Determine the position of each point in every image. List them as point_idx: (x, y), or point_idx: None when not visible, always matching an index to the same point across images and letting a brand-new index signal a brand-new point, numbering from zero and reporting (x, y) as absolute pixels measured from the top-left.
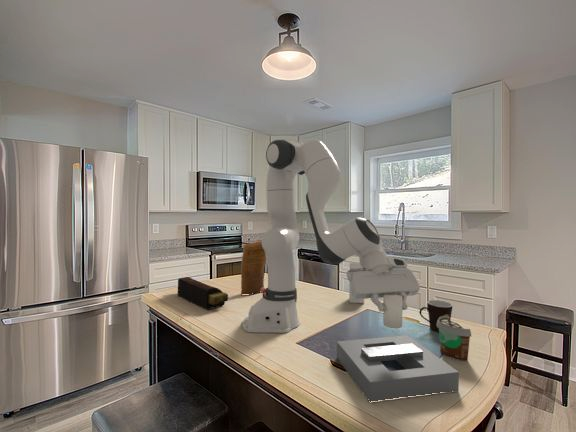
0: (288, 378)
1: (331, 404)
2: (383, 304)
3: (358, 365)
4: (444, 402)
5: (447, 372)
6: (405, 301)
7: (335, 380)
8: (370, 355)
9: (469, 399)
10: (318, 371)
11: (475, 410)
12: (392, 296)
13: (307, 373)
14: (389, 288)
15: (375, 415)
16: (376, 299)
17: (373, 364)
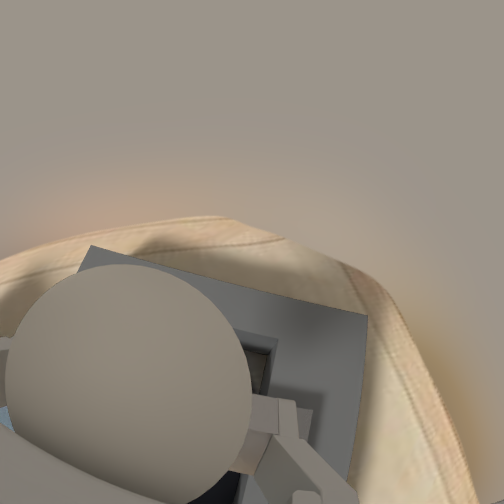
0: (464, 470)
1: (421, 360)
2: (261, 418)
3: (354, 405)
4: (174, 264)
5: (118, 257)
6: (8, 339)
7: (376, 445)
8: (303, 416)
9: (115, 246)
10: (396, 494)
11: (144, 223)
12: (127, 378)
13: (423, 488)
14: (36, 487)
15: (355, 299)
16: (332, 472)
17: (302, 394)
